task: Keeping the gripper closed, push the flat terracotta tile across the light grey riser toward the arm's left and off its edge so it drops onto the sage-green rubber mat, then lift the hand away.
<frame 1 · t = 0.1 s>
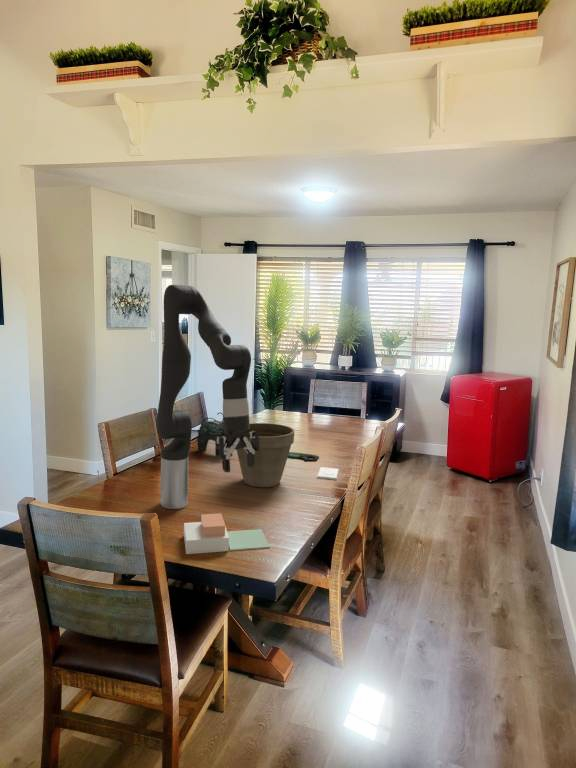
hand: (239, 469, 149), 22 cm above the table, tool pointing down, fingers open, 8 cm apart
plant pot: (261, 481, 206), on the table
terracotta tile: (212, 524, 150), point 5 cm above the table, touching grey riser
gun: (300, 459, 241), on the table
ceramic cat: (215, 453, 242), on the table
green mat: (246, 540, 154), on the table
external hard drive: (327, 476, 219), on the table
grey riser: (205, 543, 150), on the table
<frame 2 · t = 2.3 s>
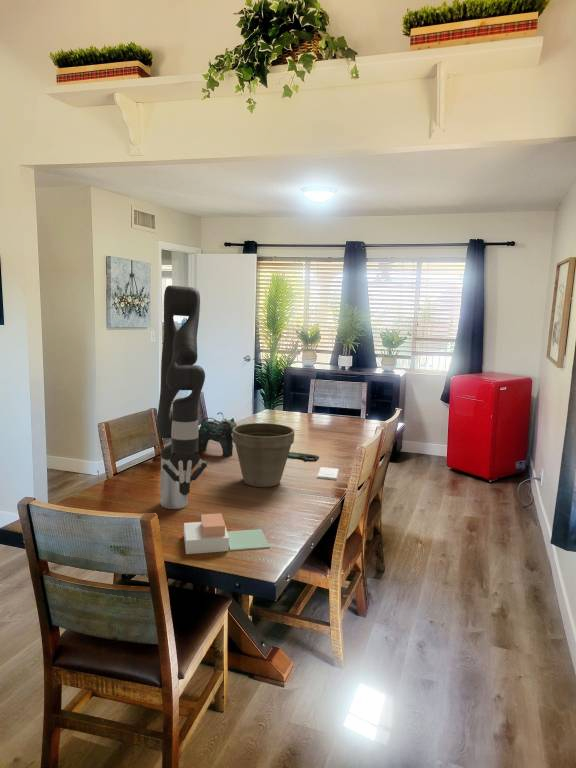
hand: (184, 494, 147), 15 cm above the table, tool pointing down, fingers closed
nothing on the table moved.
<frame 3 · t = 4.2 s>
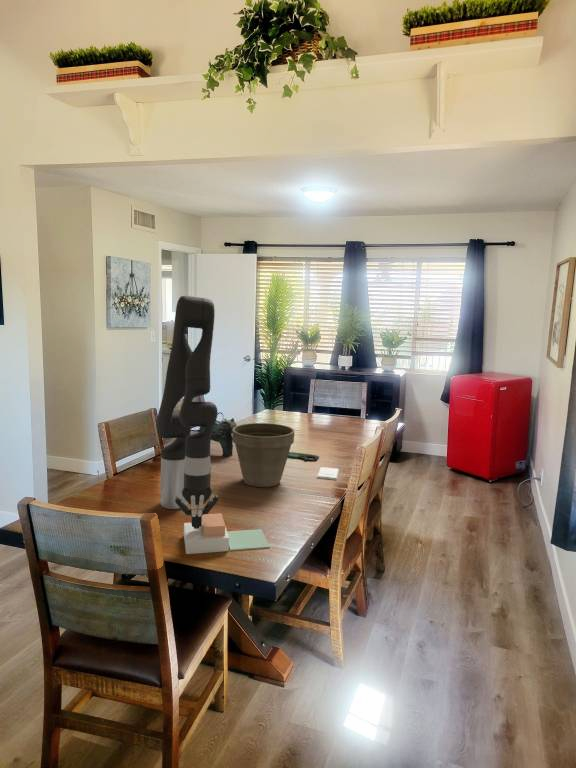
hand: (196, 527, 149), 5 cm above the table, tool pointing down, fingers closed
terracotta tile: (213, 524, 150), point 6 cm above the table, touching gripper
everything else where it was.
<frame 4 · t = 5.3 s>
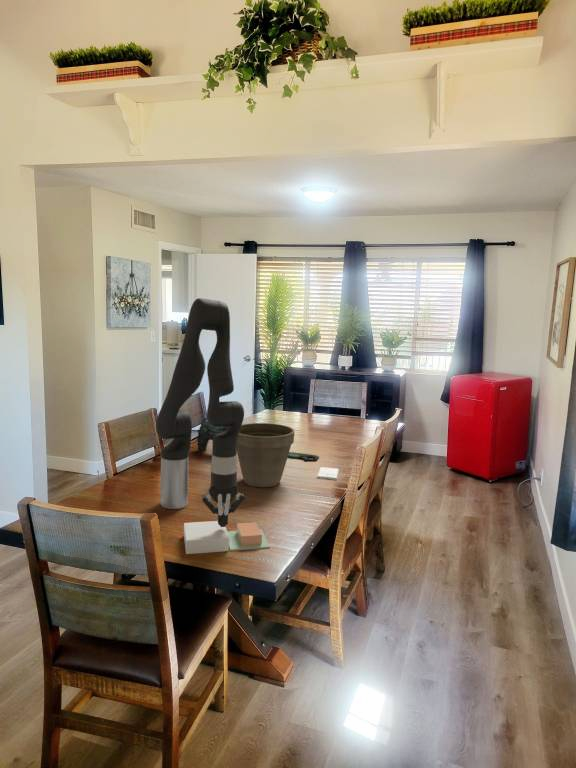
hand: (222, 525, 151), 5 cm above the table, tool pointing down, fingers closed
terracotta tile: (249, 533, 154), point 2 cm above the table, tilted 180°, touching green mat
everything else where it was.
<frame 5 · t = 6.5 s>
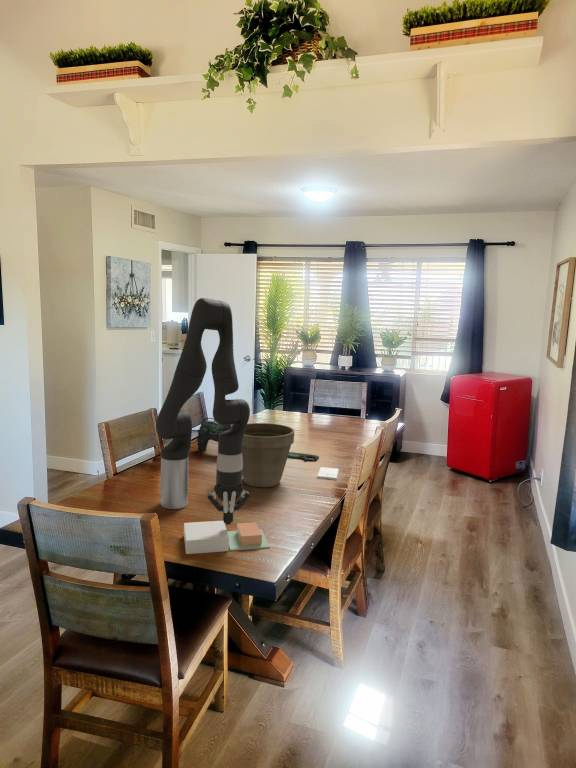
hand: (227, 523, 151), 6 cm above the table, tool pointing down, fingers closed
nothing on the table moved.
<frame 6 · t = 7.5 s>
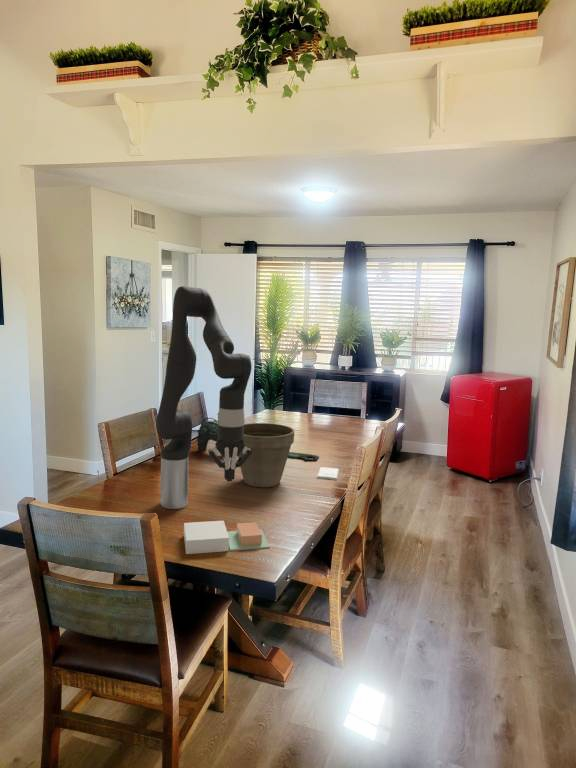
hand: (229, 480, 149), 19 cm above the table, tool pointing down, fingers closed
nothing on the table moved.
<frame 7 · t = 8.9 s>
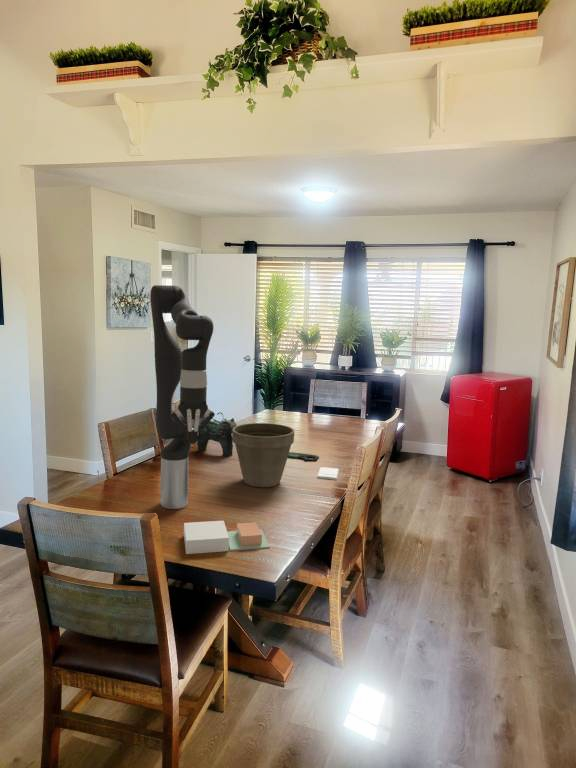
hand: (192, 443, 150), 29 cm above the table, tool pointing down, fingers closed
nothing on the table moved.
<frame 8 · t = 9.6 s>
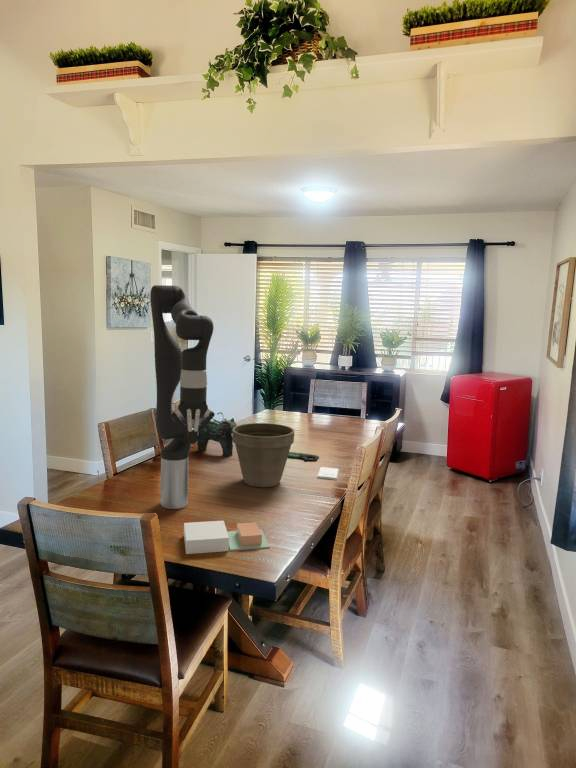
hand: (192, 443, 150), 29 cm above the table, tool pointing down, fingers closed
nothing on the table moved.
at the end: terracotta tile inside the target area (0.4 cm from its centre), point 1.9 cm above the table; terracotta tile touching green mat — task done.
